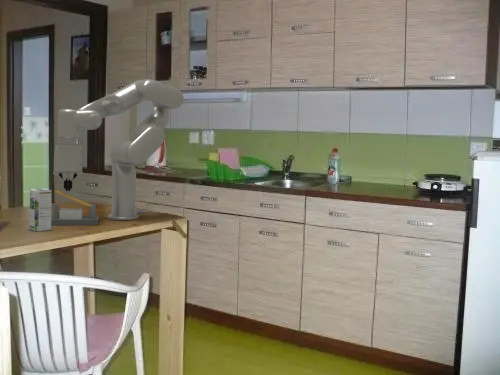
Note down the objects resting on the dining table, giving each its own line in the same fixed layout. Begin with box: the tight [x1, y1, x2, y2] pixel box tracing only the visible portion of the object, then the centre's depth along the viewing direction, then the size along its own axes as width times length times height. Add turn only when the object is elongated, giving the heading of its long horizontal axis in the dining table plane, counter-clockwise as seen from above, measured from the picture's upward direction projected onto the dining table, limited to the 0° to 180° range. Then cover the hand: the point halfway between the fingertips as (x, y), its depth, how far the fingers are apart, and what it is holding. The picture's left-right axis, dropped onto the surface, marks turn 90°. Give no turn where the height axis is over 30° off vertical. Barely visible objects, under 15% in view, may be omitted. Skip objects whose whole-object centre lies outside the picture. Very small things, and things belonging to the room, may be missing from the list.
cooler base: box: [51, 203, 99, 226], centre depth 205 cm, size 18×10×7 cm, turn 106°
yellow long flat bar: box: [54, 188, 94, 208], centre depth 204 cm, size 16×3×1 cm, turn 107°
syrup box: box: [29, 187, 52, 232], centre depth 189 cm, size 6×6×14 cm
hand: (67, 190), depth 203 cm, fingers closed
